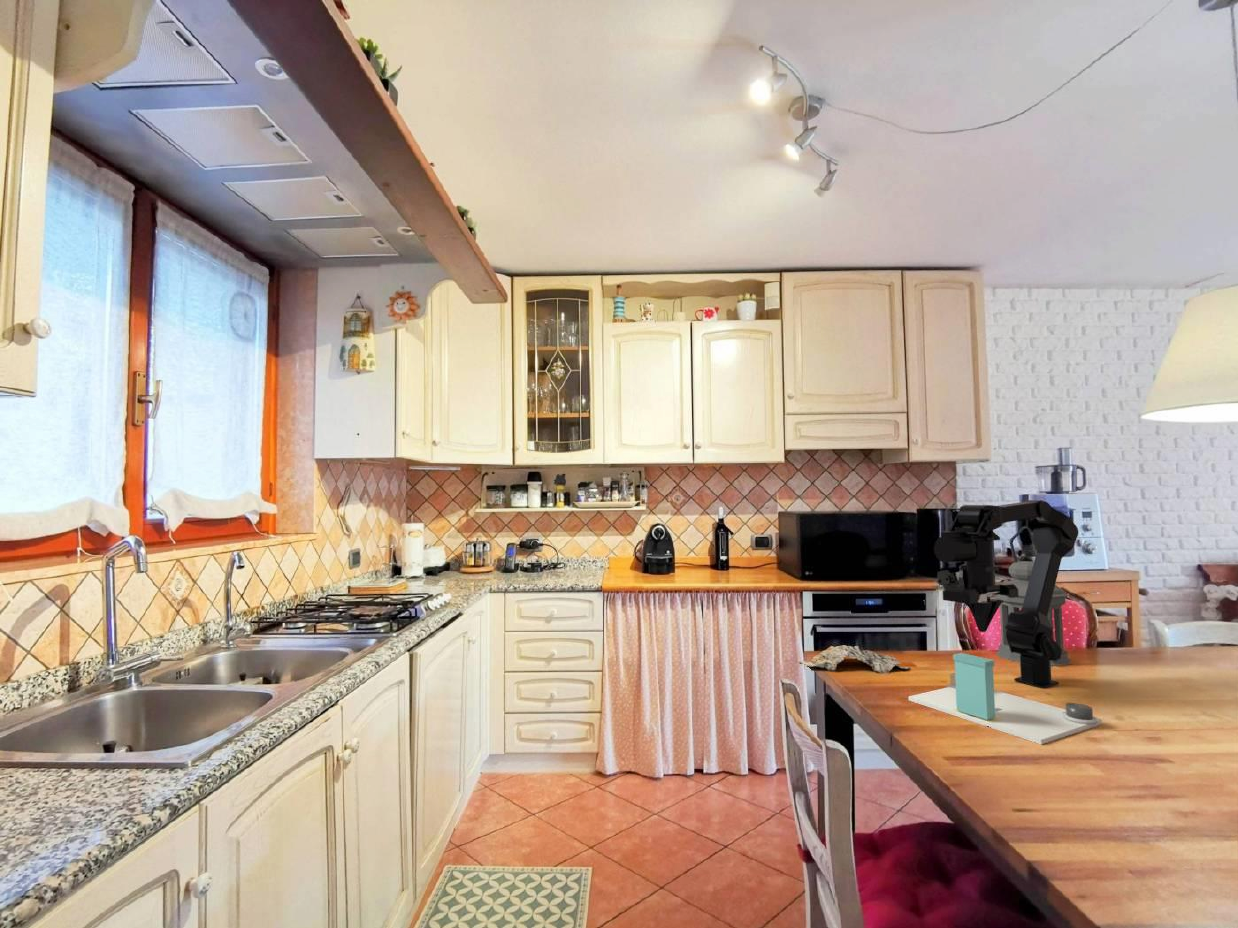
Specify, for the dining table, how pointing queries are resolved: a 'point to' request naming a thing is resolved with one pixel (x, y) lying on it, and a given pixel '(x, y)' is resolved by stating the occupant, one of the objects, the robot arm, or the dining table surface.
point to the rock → (837, 654)
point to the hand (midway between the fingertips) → (982, 631)
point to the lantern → (1021, 580)
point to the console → (1017, 714)
